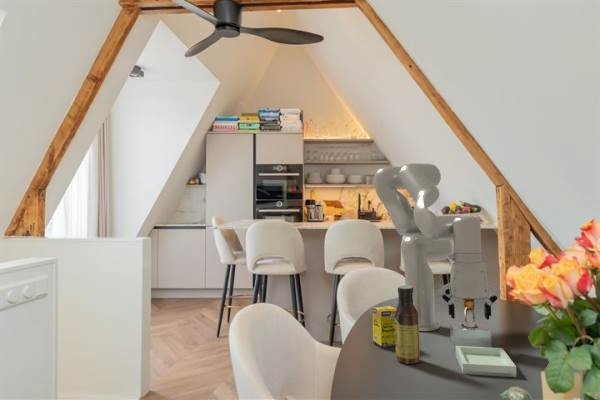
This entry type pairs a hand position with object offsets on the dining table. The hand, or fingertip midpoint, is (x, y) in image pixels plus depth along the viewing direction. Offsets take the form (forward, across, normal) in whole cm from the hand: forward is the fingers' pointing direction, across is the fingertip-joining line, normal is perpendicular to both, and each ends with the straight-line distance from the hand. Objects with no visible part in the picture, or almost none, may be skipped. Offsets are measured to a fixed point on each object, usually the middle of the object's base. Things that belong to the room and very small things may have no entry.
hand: (469, 317), depth 126 cm
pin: (+8, 0, 0) cm, 8 cm away
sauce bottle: (+9, -18, -15) cm, 25 cm away
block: (+8, 0, 0) cm, 8 cm away
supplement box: (+9, -24, -2) cm, 26 cm away
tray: (+9, +1, -15) cm, 17 cm away
